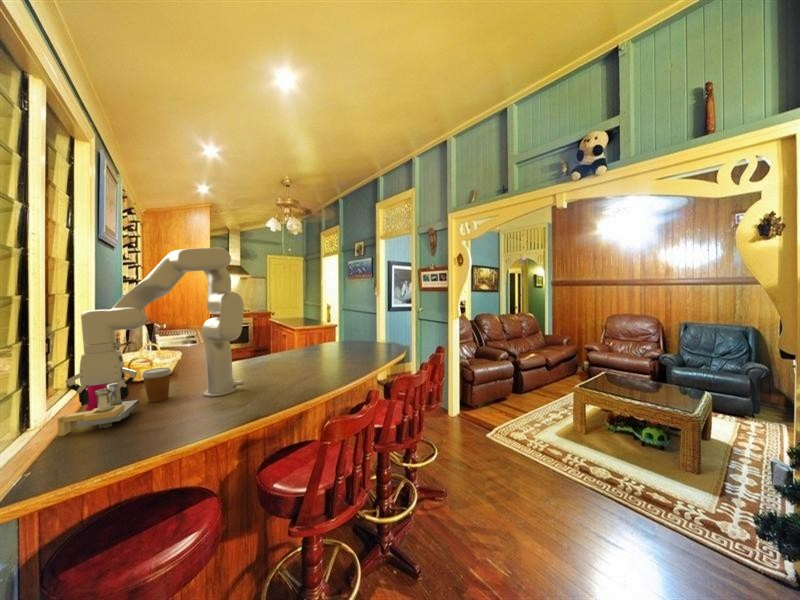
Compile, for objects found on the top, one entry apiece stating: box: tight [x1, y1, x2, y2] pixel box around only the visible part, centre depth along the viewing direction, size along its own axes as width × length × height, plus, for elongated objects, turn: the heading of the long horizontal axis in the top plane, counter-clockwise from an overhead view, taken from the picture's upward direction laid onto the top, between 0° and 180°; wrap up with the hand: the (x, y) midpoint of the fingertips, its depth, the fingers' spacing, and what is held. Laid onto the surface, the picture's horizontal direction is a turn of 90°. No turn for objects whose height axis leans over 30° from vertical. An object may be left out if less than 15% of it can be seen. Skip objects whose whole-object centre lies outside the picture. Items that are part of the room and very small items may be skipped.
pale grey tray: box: [76, 382, 140, 428], centre depth 104 cm, size 10×17×12 cm, turn 24°
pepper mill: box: [85, 384, 107, 412], centre depth 116 cm, size 7×7×20 cm
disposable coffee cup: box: [141, 367, 172, 404], centre depth 125 cm, size 10×10×12 cm
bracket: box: [56, 404, 124, 437], centre depth 99 cm, size 14×7×6 cm, turn 114°
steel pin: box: [95, 387, 113, 430], centre depth 100 cm, size 4×4×12 cm
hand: (105, 401), depth 101 cm, fingers open, 9 cm apart
